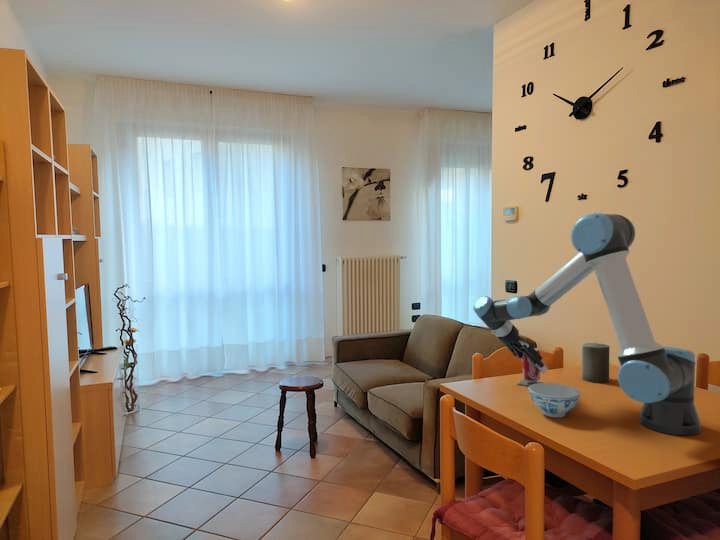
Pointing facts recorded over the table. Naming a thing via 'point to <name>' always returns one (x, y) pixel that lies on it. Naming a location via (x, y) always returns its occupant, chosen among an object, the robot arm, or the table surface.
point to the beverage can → (530, 369)
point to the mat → (527, 383)
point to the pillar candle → (595, 362)
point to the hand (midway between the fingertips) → (538, 369)
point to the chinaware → (554, 398)
